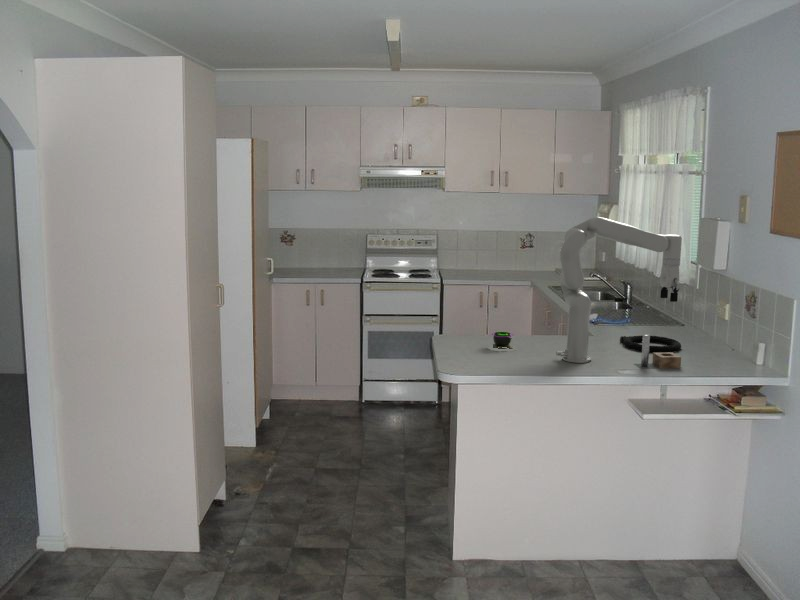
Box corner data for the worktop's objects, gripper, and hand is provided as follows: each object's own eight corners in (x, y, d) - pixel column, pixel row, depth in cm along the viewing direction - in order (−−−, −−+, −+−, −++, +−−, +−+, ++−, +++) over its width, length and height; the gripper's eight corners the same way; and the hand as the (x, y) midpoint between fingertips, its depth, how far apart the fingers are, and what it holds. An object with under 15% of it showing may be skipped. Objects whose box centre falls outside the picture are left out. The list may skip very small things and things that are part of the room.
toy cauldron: (523, 350, 380) (524, 328, 378) (497, 353, 373) (498, 330, 371) (505, 344, 393) (506, 322, 391) (480, 347, 386) (481, 325, 385)
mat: (640, 369, 343) (640, 368, 343) (632, 364, 352) (633, 363, 352) (682, 369, 345) (682, 368, 345) (673, 364, 354) (673, 363, 354)
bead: (660, 368, 344) (661, 357, 343) (652, 363, 353) (653, 352, 352) (680, 368, 345) (681, 357, 344) (671, 363, 354) (672, 352, 353)
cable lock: (669, 349, 369) (609, 340, 387) (668, 357, 369) (608, 347, 388) (689, 339, 390) (632, 331, 409) (689, 347, 391) (631, 338, 409)
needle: (642, 367, 346) (644, 336, 344) (639, 365, 349) (641, 334, 347) (649, 366, 347) (651, 335, 344) (646, 365, 350) (648, 334, 347)
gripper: (654, 260, 361) (652, 296, 364) (672, 264, 344) (669, 303, 347) (670, 260, 362) (667, 296, 365) (688, 264, 345) (685, 302, 348)
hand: (668, 299), depth 356 cm, fingers open, 9 cm apart
